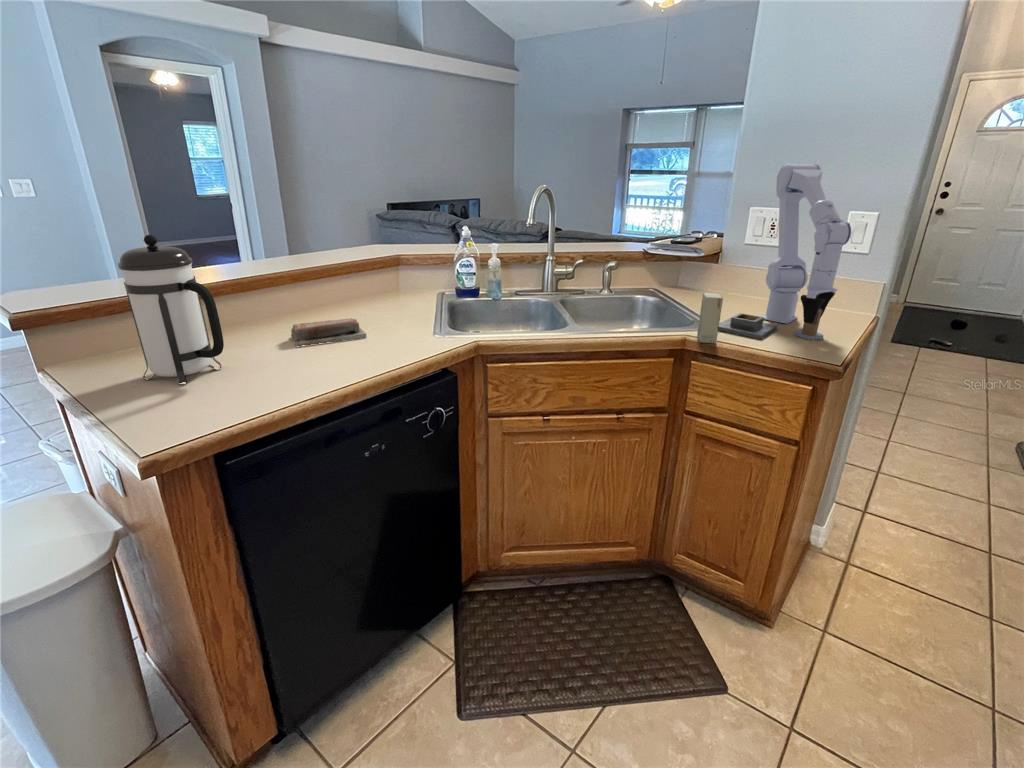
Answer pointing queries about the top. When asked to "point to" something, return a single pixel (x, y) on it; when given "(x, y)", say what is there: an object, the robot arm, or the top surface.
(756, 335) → the grey square socket base
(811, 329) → the brown wooden block
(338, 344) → the top surface
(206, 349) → the coffee press
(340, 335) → the packaged product
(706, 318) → the skincare box
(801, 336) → the coaster
